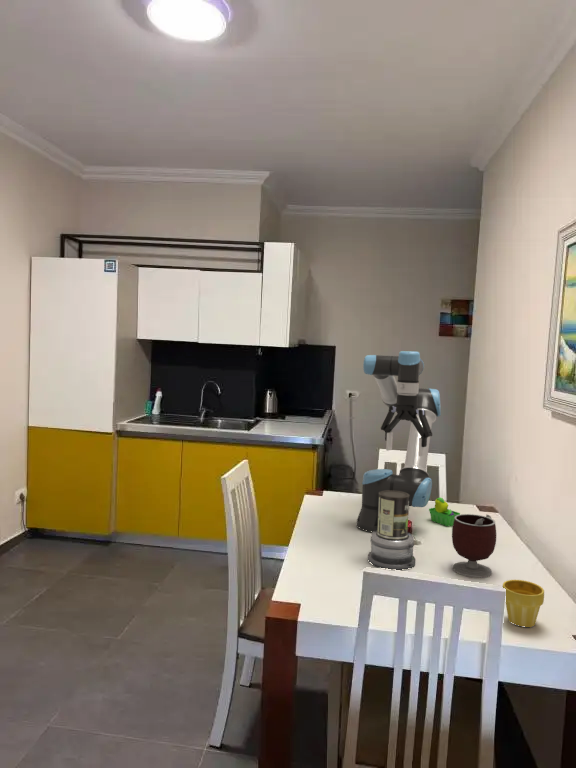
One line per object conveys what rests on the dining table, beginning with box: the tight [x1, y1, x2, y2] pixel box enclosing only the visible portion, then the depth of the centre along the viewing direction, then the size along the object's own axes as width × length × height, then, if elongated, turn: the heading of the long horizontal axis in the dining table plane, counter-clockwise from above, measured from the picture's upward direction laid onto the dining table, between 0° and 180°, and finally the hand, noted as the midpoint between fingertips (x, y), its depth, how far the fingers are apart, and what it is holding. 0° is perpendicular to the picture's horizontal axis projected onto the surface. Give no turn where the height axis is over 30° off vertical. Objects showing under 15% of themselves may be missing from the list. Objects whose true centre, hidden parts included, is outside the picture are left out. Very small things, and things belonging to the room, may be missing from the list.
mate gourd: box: [451, 513, 497, 579], centre depth 192 cm, size 16×14×20 cm
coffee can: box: [377, 490, 410, 539], centre depth 199 cm, size 10×10×14 cm
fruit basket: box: [428, 497, 461, 527], centre depth 246 cm, size 11×9×11 cm
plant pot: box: [502, 579, 545, 628], centre depth 157 cm, size 10×10×10 cm
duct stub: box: [367, 530, 417, 571], centre depth 199 cm, size 16×16×9 cm
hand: (404, 453), depth 212 cm, fingers open, 13 cm apart
